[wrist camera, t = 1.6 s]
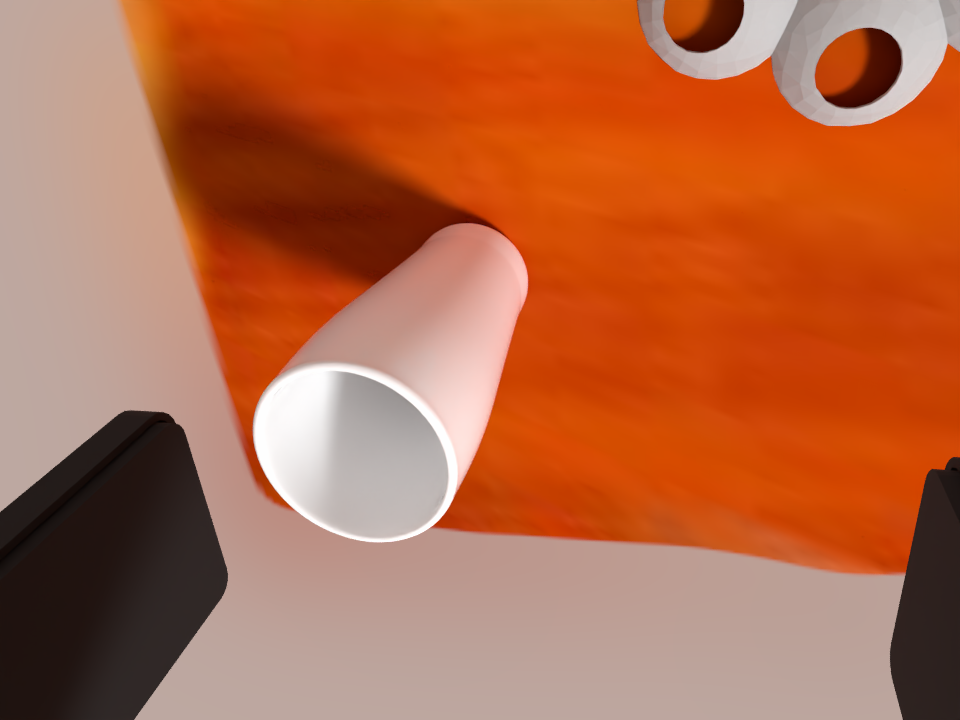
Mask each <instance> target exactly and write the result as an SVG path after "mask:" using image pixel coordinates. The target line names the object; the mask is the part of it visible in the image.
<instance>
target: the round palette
mask: <svg viewBox="0 0 960 720" xmlns="http://www.w3.org/2000/svg"><path fill="white" fill-rule="evenodd" d="M664 3H665V0H638V2H637V4H638V11H639V18H640V25H641V27H642V30H643V32H644V35H645V37H646V40H647V42H648V44H649V46H650V47H651V48H652V49H653V50H654V51H655V52H656V53H657V54H658V55H659V56H660V57H661V59H663V60H664V61H665V62H666V63H667V64H668V65H670V66H671V67H672V68H673V69H674V70H675V71H677V72H680V73H683V74H686V75H689V76H691V77H694V78H701V79H716V80H717V79H722V78H727V77H732V76H737V75H739V74H741V73H744V72H746V71H748V70H750V69H752V68H754V67H757V66H758V65H760V64H761V63H762V62H763V61H765V60H766V59H767V58H768V57H769V56H771V57H772V69H773V74H774V77H775V80H776V83H777V85H778V88H779V91H780V92H781V93H782V95H783V96H784V97H785V99H786V100H787V101H788V103H789V104H790V105H791V107H793V108H794V109H795V110H797V111H798V112H799V113H801V114H802V115H804V116H805V117H806V118H808V119H811V120H813V121H816V122H819V123H822V124H824V125H827V126H852V125H861V124H870V123H873V122H875V121H877V120H880V119H882V118H884V117H887V116H889V115H891V114H894V113H895V112H897V111H898V110H900V109H901V108H902V107H904V106H905V105H907V104H908V103H909V102H911V101H912V100H914V98H915V97H916V96H917V95H918V94H919V93H920V92H921V91H922V90H923V89H924V88H925V87H926V85H927V84H928V83H929V82H930V81H931V79H932V77H933V76H934V74H935V72H936V71H937V69H938V67H939V66H940V64H941V62H942V60H943V57H944V54H945V50H946V47H947V44H948V43H949V44H950V45H951V46H953V47H954V48H955V49H956V50H958V51H959V52H960V0H744V14H743V17H742V21H741V24H740V26H739V28H738V29H737V31H736V33H735V34H734V36H733V37H732V38H731V39H730V40H729V41H728V42H727V43H725V44H724V45H722V46H720V47H719V48H717V49H714V50H710V51H706V52H695V51H688V50H685V49H684V48H682V47H680V46H679V45H677V44H676V43H674V42H673V40H672V39H671V37H670V36H669V34H668V33H667V31H666V29H665V25H664V21H663V11H664ZM858 28H876V29H881V30H883V31H885V32H887V33H889V34H890V35H891V36H892V37H893V38H894V39H895V40H896V41H897V43H898V45H899V48H900V50H901V60H902V62H901V67H900V71H899V74H898V76H897V78H896V80H895V82H894V83H893V84H892V86H891V87H890V88H889V89H888V90H887V91H886V93H884V94H883V95H881V96H880V97H878V98H877V99H875V100H874V101H872V102H871V103H869V104H865V105H861V106H858V107H854V108H853V107H838V106H836V105H834V104H832V103H830V102H827V101H825V99H824V98H823V97H822V95H821V94H820V92H819V91H818V90H817V88H816V84H815V78H814V76H815V69H816V65H817V62H818V60H819V58H820V56H821V54H822V53H823V51H824V50H825V49H826V47H827V46H828V45H829V44H830V43H831V42H833V41H834V40H835V39H836V38H837V37H839V36H841V35H843V34H844V33H846V32H848V31H852V30H855V29H858Z"/></svg>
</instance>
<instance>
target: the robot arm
mask: <svg viewBox="0 0 960 720" xmlns="http://www.w3.org/2000/svg"><path fill="white" fill-rule="evenodd" d="M227 581H228V573H227V568H226V565H225V561H224V558H223V555H222V551H221V548H220V545H219V542H218V538H217V535H216V532H215V529H214V525H213V522H212V519H211V516H210V512H209V509H208V506H207V503H206V500H205V496H204V493H203V490H202V487H201V483H200V480H199V477H198V474H197V470H196V467H195V464H194V461H193V458H192V454H191V451H190V448H189V444H188V441H187V438H186V435H185V432H184V430H183V428H182V427H181V426H180V425H178V424H176V423H175V421H174V419H173V418H172V417H171V416H170V415H169V414H167V413H164V412H149V411H124V412H122V413H120V414H119V415H118V416H116V417H115V418H114V419H112V420H111V421H110V422H109V423H108V424H107V425H105V426H104V427H103V428H102V429H100V430H99V431H98V432H97V433H95V434H94V435H93V436H92V437H91V438H90V439H88V440H87V441H86V442H85V443H83V444H82V445H81V446H80V447H78V448H77V449H76V450H75V451H74V452H72V453H71V454H70V455H69V456H68V457H66V458H65V459H64V460H63V461H62V462H60V463H59V464H58V465H57V466H55V467H54V468H53V469H52V470H51V471H49V472H48V473H47V474H46V475H45V476H43V477H42V478H41V479H40V480H39V481H37V482H36V483H35V484H34V485H33V486H31V487H30V488H29V489H28V490H26V492H24V493H23V494H22V495H20V496H19V497H18V498H17V499H16V500H15V501H13V502H12V503H11V504H10V505H8V506H7V507H6V508H5V509H4V510H2V511H1V512H0V720H134V719H135V718H136V716H137V715H138V713H139V712H140V711H141V709H142V708H143V706H144V705H145V704H146V702H147V701H148V699H149V698H150V697H151V695H152V694H153V692H154V691H155V690H156V688H157V687H158V686H159V684H160V682H161V681H162V680H163V678H164V677H165V676H166V674H167V673H168V671H169V670H170V669H171V667H172V666H173V665H174V663H175V662H176V661H177V659H178V658H179V656H180V655H181V653H182V652H183V651H184V649H185V648H186V647H187V645H188V644H189V642H190V641H191V640H192V638H193V637H194V635H195V634H196V633H197V631H198V630H199V629H200V627H201V626H202V624H203V623H204V622H205V620H206V619H207V617H208V616H209V615H210V613H211V612H212V610H213V609H214V608H215V606H216V605H217V603H218V602H219V601H220V599H221V598H222V596H223V594H224V592H225V589H226V586H227ZM890 666H891V675H892V679H893V684H894V687H895V691H896V695H897V699H898V702H899V706H900V710H901V714H902V717H903V720H960V457H953V458H951V459H950V460H949V461H948V463H947V465H946V468H945V470H937V469H932V470H930V471H929V472H928V474H927V477H926V480H925V484H924V489H923V494H922V499H921V503H920V508H919V513H918V518H917V523H916V527H915V532H914V537H913V542H912V546H911V551H910V556H909V561H908V565H907V570H906V575H905V580H904V585H903V589H902V594H901V599H900V604H899V609H898V613H897V618H896V623H895V628H894V632H893V638H892V642H891V649H890Z"/></svg>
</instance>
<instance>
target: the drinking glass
mask: <svg viewBox="0 0 960 720" xmlns="http://www.w3.org/2000/svg"><path fill="white" fill-rule="evenodd" d="M527 291H528V275H527V270H526V266H525V263H524V261H523V258H522V256H521V255H520V253H519V251H518V250H517V248H516V247H515V246H514V245H513V244H512V242H511V241H510V240H509V239H507V238H506V237H505V236H504V235H502V234H501V233H499V232H498V231H496V230H494V229H492V228H490V227H487V226H484V225H480V224H474V223H460V224H454V225H450V226H447V227H445V228H443V229H441V230H439V231H437V232H436V233H434V234H433V235H432V236H431V237H430V238H429V239H428V240H427V241H426V242H425V243H424V244H423V245H422V246H421V247H420V248H419V249H418V250H417V251H416V252H415V253H413V254H412V255H411V256H410V257H408V258H407V259H406V260H405V261H403V262H402V263H401V264H400V265H398V266H397V267H396V268H395V269H393V270H392V271H391V272H389V273H388V274H387V275H386V276H384V277H383V278H382V279H380V280H379V281H378V282H376V283H375V284H374V285H373V286H371V287H370V288H369V289H367V290H366V291H365V292H363V293H362V294H361V295H360V296H358V297H357V298H356V299H354V300H353V301H352V302H350V303H349V304H348V305H347V306H345V307H344V308H343V309H342V310H340V311H339V312H338V313H337V314H335V315H334V316H333V317H332V318H331V319H330V320H328V321H327V322H326V323H325V324H324V325H323V326H322V327H321V328H320V329H319V330H318V331H317V332H316V333H315V334H314V335H313V336H312V337H311V338H310V339H309V340H308V341H307V342H306V343H305V344H304V345H303V346H302V347H301V348H300V349H299V350H298V351H297V352H296V353H295V354H294V356H293V357H292V358H291V359H290V360H289V361H288V363H287V364H286V365H285V366H284V367H283V369H282V370H281V371H280V372H279V374H278V375H277V376H276V377H275V379H274V380H273V381H272V382H271V383H270V384H269V385H268V387H267V388H266V389H265V391H264V392H263V394H262V396H261V397H260V399H259V402H258V404H257V407H256V410H255V414H254V420H253V439H254V445H255V450H256V453H257V457H258V459H259V462H260V464H261V467H262V469H263V471H264V473H265V475H266V476H267V478H268V480H269V481H270V483H271V484H272V485H273V487H274V488H275V490H276V491H277V492H278V493H279V494H280V496H281V497H282V498H283V499H284V500H285V501H286V502H287V503H288V504H289V505H290V506H291V507H292V508H294V509H295V510H296V511H297V512H298V513H300V514H301V515H302V516H304V517H305V518H307V519H308V520H310V521H311V522H313V523H315V524H316V525H318V526H320V527H322V528H324V529H326V530H328V531H330V532H333V533H335V534H338V535H341V536H344V537H347V538H351V539H355V540H361V541H367V542H391V541H398V540H403V539H406V538H410V537H412V536H415V535H418V534H420V533H422V532H423V531H425V530H427V529H428V528H430V527H431V526H433V525H434V524H435V523H436V522H437V521H438V520H439V519H440V518H441V517H442V516H443V515H444V514H445V512H446V511H447V509H448V508H449V506H450V504H451V502H452V500H453V498H454V496H455V494H456V492H457V491H458V489H459V487H460V485H461V483H462V481H463V479H464V477H465V475H466V473H467V471H468V469H469V467H470V465H471V463H472V461H473V459H474V457H475V454H476V452H477V450H478V447H479V445H480V443H481V440H482V437H483V435H484V432H485V429H486V426H487V424H488V421H489V417H490V414H491V411H492V408H493V404H494V401H495V397H496V393H497V390H498V386H499V382H500V379H501V375H502V371H503V368H504V364H505V360H506V357H507V353H508V349H509V346H510V342H511V339H512V335H513V332H514V328H515V325H516V322H517V318H518V315H519V313H520V311H521V309H522V307H523V305H524V302H525V299H526V296H527Z"/></svg>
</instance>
